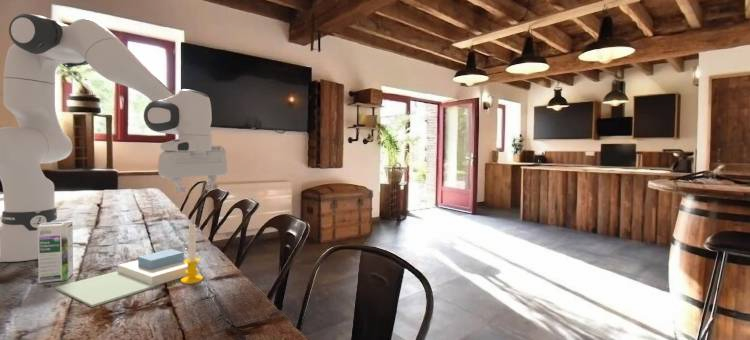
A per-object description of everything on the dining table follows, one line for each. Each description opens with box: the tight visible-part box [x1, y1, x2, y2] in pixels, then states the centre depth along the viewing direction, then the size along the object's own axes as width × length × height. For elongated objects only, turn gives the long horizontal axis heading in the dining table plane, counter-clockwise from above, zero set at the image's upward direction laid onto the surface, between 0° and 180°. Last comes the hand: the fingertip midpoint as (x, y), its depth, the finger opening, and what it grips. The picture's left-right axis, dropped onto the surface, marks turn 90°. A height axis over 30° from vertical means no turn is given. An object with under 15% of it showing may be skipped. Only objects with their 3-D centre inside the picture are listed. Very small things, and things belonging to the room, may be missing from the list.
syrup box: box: [37, 220, 74, 284], centre depth 91 cm, size 6×6×14 cm
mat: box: [54, 270, 155, 308], centre depth 86 cm, size 18×13×1 cm
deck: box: [117, 259, 188, 287], centre depth 97 cm, size 16×12×2 cm
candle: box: [180, 221, 204, 285], centre depth 93 cm, size 5×5×16 cm
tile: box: [137, 248, 185, 270], centre depth 98 cm, size 6×9×2 cm, turn 151°
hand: (195, 191), depth 106 cm, fingers open, 8 cm apart
